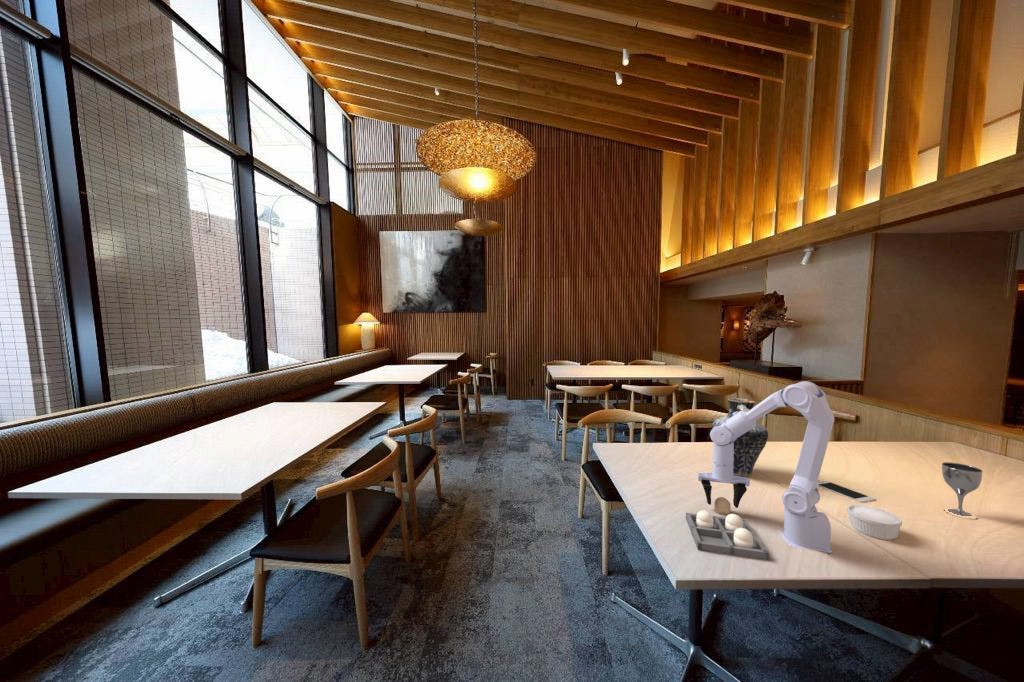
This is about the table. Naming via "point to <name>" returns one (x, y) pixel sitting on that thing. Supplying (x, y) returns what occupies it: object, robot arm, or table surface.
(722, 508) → the tan egg
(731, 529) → the cream egg
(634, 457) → the table surface
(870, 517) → the ramekin
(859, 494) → the smartphone
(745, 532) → the cream egg
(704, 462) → the table surface
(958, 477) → the wine glass
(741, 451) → the jug
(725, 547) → the egg tray
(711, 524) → the cream egg
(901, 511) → the table surface
